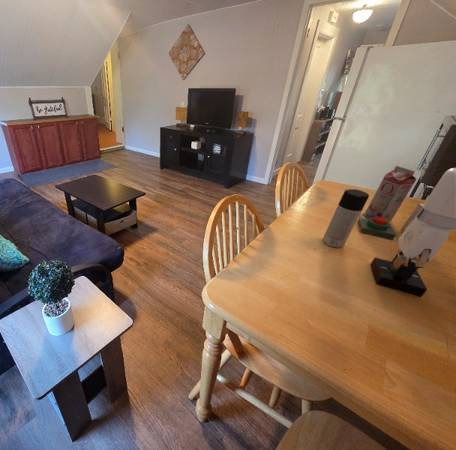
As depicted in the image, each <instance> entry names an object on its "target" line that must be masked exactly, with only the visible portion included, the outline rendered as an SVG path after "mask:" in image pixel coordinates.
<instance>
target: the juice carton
mask: <svg viewBox="0 0 456 450" xmlns="http://www.w3.org/2000/svg"><path fill="white" fill-rule="evenodd" d="M415 173H416V171H415V170H411V169H408V168H405V167H402V166H398V165H395V167H394V169H392V170H391V171H389V172H387V173H385V174H384V176H383V177H382V180H381V182H380V184H379V186H378V188H377V189H376V192H375V193H374V195H373V197H372V200H370V202H369V205H368V207H367V208H366V209H365V212H364V214H363V216H364V217H367V218H368V219H369V218H375V217H382V218H385V219H386V220H387V222H388V223H390V222H392V220H393V219H394V218H395V215H397V212H398V210H399V209H400V207H401V205H402V204H403V202H404V201H405V199H406V198H407V196H408V195H409V192H410V191H411V189H412V188H413V186H414V185H415V182H416V181H417V178H416V177H415V176H414V174H415Z"/></svg>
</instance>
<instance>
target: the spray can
mask: <svg viewBox="0 0 456 450" xmlns="http://www.w3.org/2000/svg"><path fill="white" fill-rule="evenodd" d="M369 197H370V194H369V193H367V192H366V191H364V190H361V189H356V188H349V189H345V190H344V191H343V193H342V196H341V198H340V200H339V201H338V204H337V206H336V209H335V211H334V213H333V215H332V217H331V219H330V222H329V224H328V226H327V227H326V231H325V233H324V235H323V237H322V241H323V243H324V244H326V245H327V246H330V247H332V248H343V247H344V246H345V244H346V243H347V240H348V238H349V236H350V234H351V232H352V231H353V229H354V227H355V225H356V223H357V222H358V220H359V218H360V215H361V214H362V212H363V210H364V208H365V205H366V203H367V201H368V200H369Z"/></svg>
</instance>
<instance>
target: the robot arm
mask: <svg viewBox="0 0 456 450" xmlns="http://www.w3.org/2000/svg"><path fill="white" fill-rule="evenodd" d="M423 204H424V205H423V206H422V208H421V209H420V211H419V212H418V214H417V215H416V217H415V218H414V220H413V221H412V222H411V223H410V224H409V225H408V227H407V228H406V229H405V231H404V232H401V233H402V234H401V235H400V236H399V237H398V239H397V243H398V246H399V249H398V251H397V254H396V255H395V256H394V258H393V259H392V261H391V265H392V264H393V262H394V261H395V259H396V258H397V256H398V255H399V254H404V256H405V257H406V258H407V259H406V261H405V263H404V264H401V266H400V267H399V268H398V270H397V271H396V273H395V276H398V277H402V278H405V279H410V278H411V276H412V275H413V274H414V272H415V271H416V270H417V271H418V270H419V269H425V268H426V264H427V263H430V262H431V261H432V260H433V259H434V258H435V257H436V255H437V254H438V253H439V251H440V250H441V248H442V247H443V246H444V244H445V243H446V241H447V239H448V237H449V236H450V234H451V233H452V231H455V230H456V167H452V168H450V169H447V170H446V171H445V172H444V173H443V175H442V176H441V178H440V179H439V181H438V182H437V184H435V187H434V188H433V189H432V191H431V192H430V194H429V196H428V197H427V199H426V200H425V202H424V203H423ZM411 260H416V261H417V262H410V261H411Z"/></svg>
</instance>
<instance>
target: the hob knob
mask: <svg viewBox="0 0 456 450" xmlns="http://www.w3.org/2000/svg"><path fill="white" fill-rule="evenodd" d="M406 259H407V258H406V257H405V256H404V254H399V255H398V256H397V258H396V259H395V261H394V262H393V264H392V265H391V267H390V268H389V269H390V271H391V272H392V273H394V274H395V273H396V271H397V270H398V268H399V267H400V266H401V264H404V263H405V261H406ZM410 262H417V261H416V260H411V261H410Z"/></svg>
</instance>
